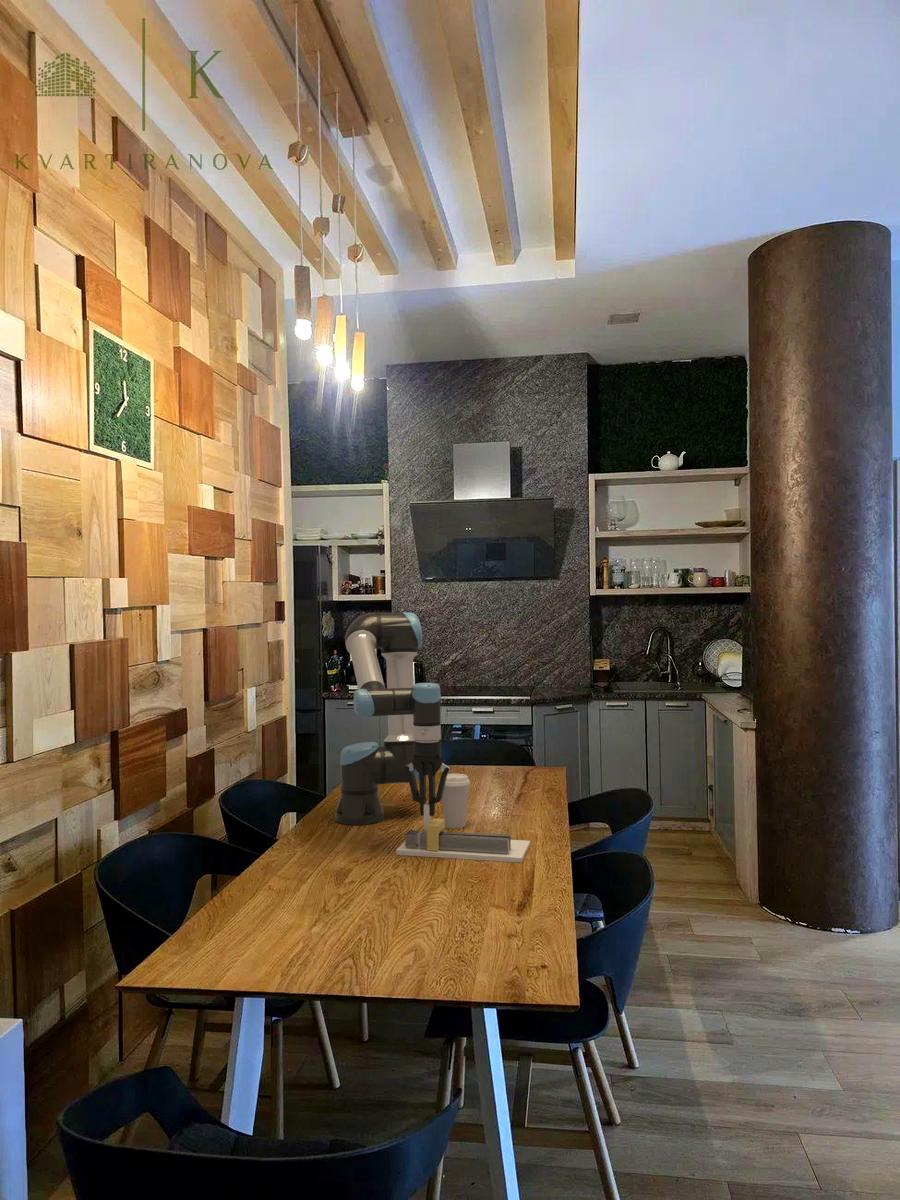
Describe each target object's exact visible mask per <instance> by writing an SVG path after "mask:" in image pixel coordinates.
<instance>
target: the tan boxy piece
mask: <svg viewBox="0 0 900 1200" xmlns="http://www.w3.org/2000/svg"><path fill="white" fill-rule="evenodd" d="M445 828H446V827H445V819H444V818H433V819H432V821H431V822H430V823H429V824H428V825H427V829H426V831H427V850H433V851H438V850H439V833H440V832H446V830H445Z"/></svg>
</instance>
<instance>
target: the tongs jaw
mask: <svg viewBox="0 0 900 1200" xmlns="http://www.w3.org/2000/svg"><path fill="white" fill-rule="evenodd" d="M421 833H427V830H423V831H422V832H421ZM439 834H445V835H463V836H481V837H499V838H509V850H510V849H511V840H512V834H510V833H509V834H506V833H505V834H504V833H487V832H486V833H483V832H482V833H481V832H479V833H478V832H464V831H463V832H459V831H458V832H457V831H445V832H440V833H439Z"/></svg>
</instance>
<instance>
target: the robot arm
mask: <svg viewBox="0 0 900 1200" xmlns="http://www.w3.org/2000/svg"><path fill="white" fill-rule="evenodd" d="M422 631H423V630H422V625H421V621H420V620H419V617H418V615H417V614H415V613H413V612H404V611H399V612H398V611H397V612H396V611H395V612H394V611H392V612H367V613H364V614H362V615H360V616H358V617H357V618H356V619H354V621H353V622H351V623H350V625H349V626H348V629H346V632H345V637H344V643H345V648H346V651H347V652H348V653H349V654H350V656H351V661H352V665H353V666H352V667H353V670H354V676H355V679H356V684H357V689H356V690H354V692H353V712H354V714H355V715H356V716H357V717H368V718H369V717H381V716H383V717H384V716H387V730H388V731H387V734H388V735H387V736H386V738H384V740H383V746H379V744H378V742H376V741H364V742H363V741H362V742H358V743H357V742H356V743H354V744H349V745H347V746H344V748H342V750H341V751H340V762H339V765H340V796H339V799H338V803H337V805H336V808H335V812H334V813H335V815H334V817H335V818H334V819H335V820H334V821H335V822H337V823H340V824H344V825H350V826H351V825H352V826H353V825H355V826H358V825H359V826H361V825H362V826H364V825H372V824H376V823H379V822H381V821H383V820H384V819H385V812H384V811H385V810H384V807H383V804H382V801H381V798H380V795H379V785H387V784H389V785H390V784H391V785H392V784H409V787H410V792H411V796H412V800H413V802H415V803H416V802H417V803H419V811H420V812H419V815H420V816H423V830H427V825H428V824H429V823H430V822H431V821H432V820H433V819H432V817H434V816H435V814H436V804H437V803H440V802H442V796H443V791H444V787H445V783H446V778H447V774H450V773H449V772H450V771H451V770H452V767H451V766H450V765H447V764H445V763H444V760H443V759H442V742H441V741H440V740H441V739H442V726H441V721H442V720H441V715H442V713H441V707H442V704H441V703H442V702H441V699H442V695H441V687H440V684H438V683H436V682H435V683H434V682H418V683H415V684H414V658H415V657H416V656H417V654H418V649H421V648H422V646H423V632H422ZM376 650H380V651H381V652H380V653H381V656H382V657H383V658H385V661H386V663H385V664H386V686H385V682H384V679H383V675H382V670H381V667H380V663H379V658H378V656H377V651H376ZM439 770H440V773H441V775H440V777H439V781H440V782H439V781H438V787H437V790H436V776H437V775H436V774H437V772H438V771H439ZM427 776H428V777H427ZM427 778H428V779H427ZM427 780H428V799H427ZM418 782H419V789H418V784H417V783H418Z"/></svg>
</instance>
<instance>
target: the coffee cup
mask: <svg viewBox="0 0 900 1200" xmlns="http://www.w3.org/2000/svg"><path fill="white" fill-rule="evenodd" d="M439 782H440V780H439V781H438V783H439ZM470 784H471V781H470V779H469V777H468V775H467V774H464V773H448V774H447V778H446V783H445V787H444V791H443V796H442V800H441V804H442V806H441V807H442V816H443V818H442V819H445V828H447V829H450V828H451V829H452V830H453V829H454V830H456V829H457V830H459V829H463V827H464V828H465V827H466V825H467V814H468V813H467V811H468V800H469V799H468V797H469V786H470Z"/></svg>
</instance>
